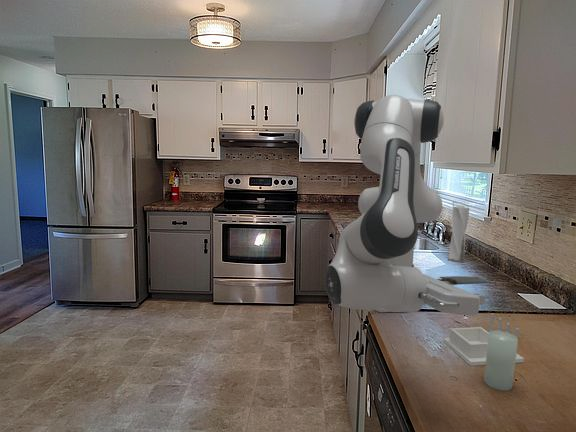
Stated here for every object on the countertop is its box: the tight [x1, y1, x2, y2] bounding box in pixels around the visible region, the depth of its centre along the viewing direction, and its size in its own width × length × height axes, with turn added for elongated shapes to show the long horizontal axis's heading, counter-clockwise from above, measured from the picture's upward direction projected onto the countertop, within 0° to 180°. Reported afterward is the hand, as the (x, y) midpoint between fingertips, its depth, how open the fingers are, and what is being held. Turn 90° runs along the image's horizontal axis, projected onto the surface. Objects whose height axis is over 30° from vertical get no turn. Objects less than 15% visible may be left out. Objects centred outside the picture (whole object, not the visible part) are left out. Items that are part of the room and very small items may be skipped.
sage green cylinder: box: [483, 329, 519, 392], centre depth 84 cm, size 6×6×11 cm
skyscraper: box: [447, 201, 470, 264], centre depth 185 cm, size 8×8×28 cm
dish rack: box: [442, 312, 525, 367], centre depth 98 cm, size 14×12×8 cm
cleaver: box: [436, 275, 488, 286], centre depth 155 cm, size 30×10×2 cm, turn 101°
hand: (465, 292), depth 79 cm, fingers open, 8 cm apart
